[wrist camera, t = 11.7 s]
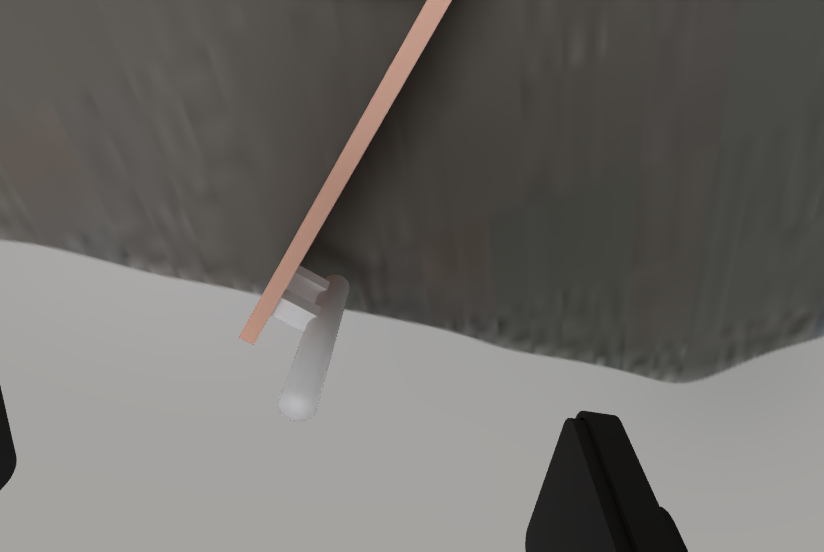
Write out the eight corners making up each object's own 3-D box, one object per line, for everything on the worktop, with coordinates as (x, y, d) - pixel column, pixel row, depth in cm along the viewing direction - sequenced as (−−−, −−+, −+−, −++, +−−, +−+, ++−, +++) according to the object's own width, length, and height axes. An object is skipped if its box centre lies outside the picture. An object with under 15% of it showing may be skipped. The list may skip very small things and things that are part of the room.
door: (451, -44, 28) (477, -102, 15) (519, 5, 29) (601, -9, 16) (280, 262, 35) (195, 406, 22) (338, 293, 36) (290, 449, 23)
